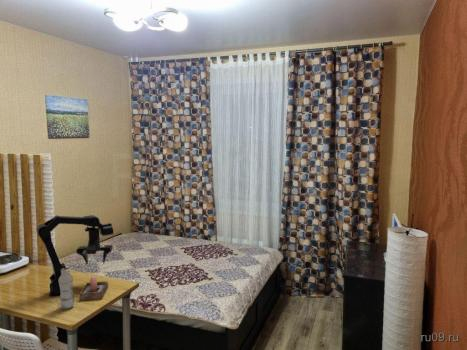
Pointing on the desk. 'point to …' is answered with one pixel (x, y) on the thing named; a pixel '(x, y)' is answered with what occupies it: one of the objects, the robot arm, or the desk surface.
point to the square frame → (89, 295)
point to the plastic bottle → (66, 289)
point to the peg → (93, 284)
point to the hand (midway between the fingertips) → (95, 263)
